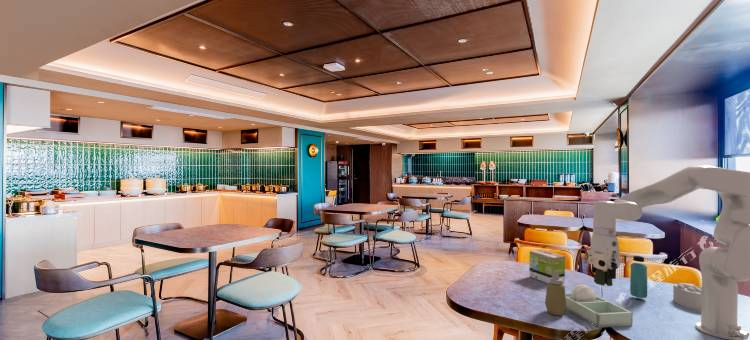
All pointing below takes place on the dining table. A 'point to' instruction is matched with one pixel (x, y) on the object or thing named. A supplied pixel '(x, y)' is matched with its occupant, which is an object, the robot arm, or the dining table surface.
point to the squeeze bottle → (555, 295)
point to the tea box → (546, 265)
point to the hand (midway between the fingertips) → (603, 275)
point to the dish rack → (599, 312)
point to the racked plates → (583, 293)
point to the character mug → (600, 269)
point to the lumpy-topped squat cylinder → (687, 295)
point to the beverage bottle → (638, 278)
